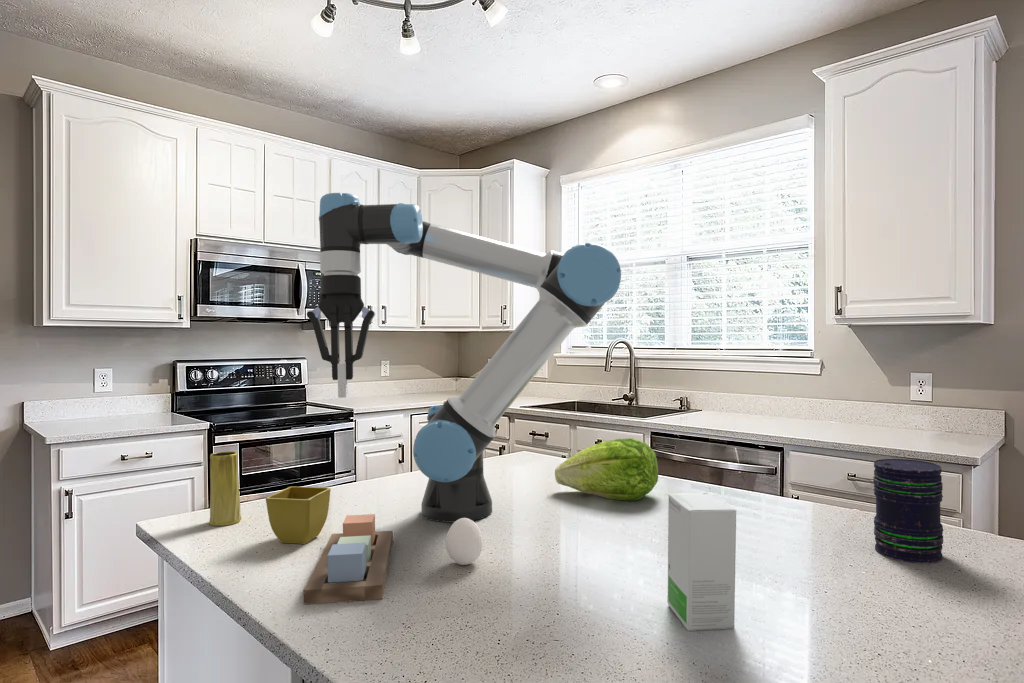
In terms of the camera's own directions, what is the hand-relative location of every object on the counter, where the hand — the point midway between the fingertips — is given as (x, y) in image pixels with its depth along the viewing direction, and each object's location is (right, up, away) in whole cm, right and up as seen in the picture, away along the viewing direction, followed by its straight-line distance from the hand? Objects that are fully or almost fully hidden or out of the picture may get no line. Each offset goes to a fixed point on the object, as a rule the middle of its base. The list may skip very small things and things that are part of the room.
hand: (343, 396), depth 122 cm
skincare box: (+58, -26, -39) cm, 74 cm away
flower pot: (-7, -27, -4) cm, 28 cm away
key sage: (+7, -26, -19) cm, 33 cm away
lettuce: (+55, -26, +25) cm, 65 cm away
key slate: (+8, -25, -27) cm, 37 cm away
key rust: (+6, -25, -11) cm, 28 cm away
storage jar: (+99, -25, -16) cm, 104 cm away
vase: (-27, -27, +9) cm, 39 cm away
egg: (+25, -26, -18) cm, 40 cm away
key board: (+7, -26, -19) cm, 33 cm away
